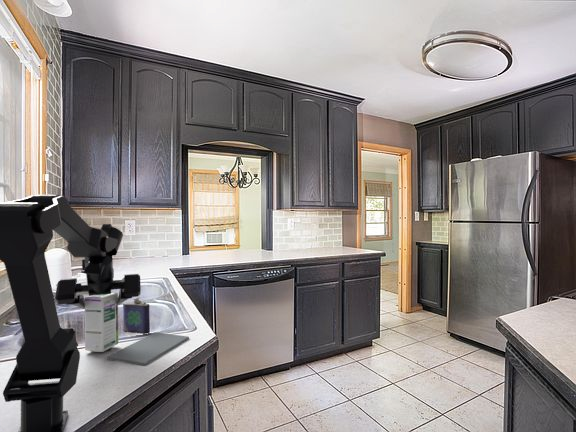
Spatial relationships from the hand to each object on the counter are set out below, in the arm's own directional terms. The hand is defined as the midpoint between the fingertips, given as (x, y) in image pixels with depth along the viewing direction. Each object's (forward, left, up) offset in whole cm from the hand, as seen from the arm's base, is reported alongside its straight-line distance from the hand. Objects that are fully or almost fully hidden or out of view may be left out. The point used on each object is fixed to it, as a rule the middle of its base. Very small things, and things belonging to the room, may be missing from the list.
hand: (102, 305), depth 88 cm
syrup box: (-1, 0, -11) cm, 11 cm away
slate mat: (-6, -12, -12) cm, 18 cm away
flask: (+10, -9, -12) cm, 18 cm away
